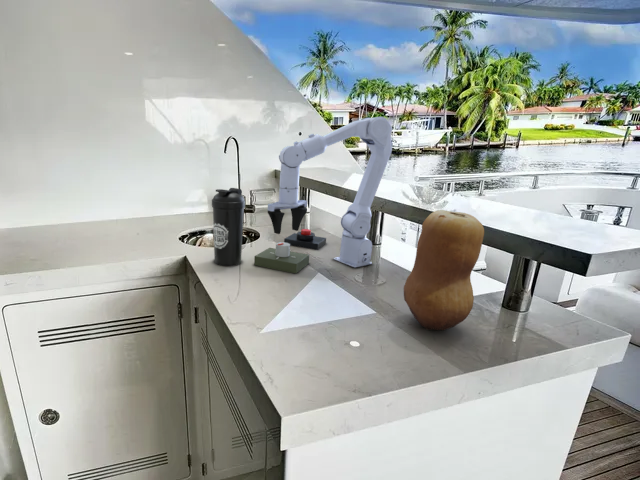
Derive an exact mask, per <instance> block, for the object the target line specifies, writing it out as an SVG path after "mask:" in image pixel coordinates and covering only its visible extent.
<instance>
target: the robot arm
mask: <svg viewBox="0 0 640 480" xmlns="http://www.w3.org/2000/svg"><path fill="white" fill-rule="evenodd" d="M392 132H393V127H392V125H391V123H390V122H389V120H388V119H387V118H386V117H385V116H375V117H364V118H362V119H357V120H354V121H351V122H349V123H347V124H345V125H343V126H341V127H339V128H337V129H335V130H333V131H331V132H329V133H327V134H325V135H323V136H322V135H321V134H320V133H316V134H314V133H310V134H309V135H308V137H306V138H304V139H302V140H300V141H294V142H293V145H287V146H285V147H283V148H282V150H281V151H280V153H279V155H278V159H279V162H280V172H279V190H278V201H275V202H272V203H268V204H267V214H268V216H269V218H270V220H271V221H270V222H271V224H272V228H273V233H274V234H277V235H280V234H281V232H282V224H283V223H282V222H283V219H284V216H285V214H286V213H285V212H282V211H281V210H289V209H290V214H291V229H292V231H297V232H299V229H300V226H301V224H302V221H303V218H304V217H305V215H306V214H307V212H308V208H307V207H308V200H305V199H299V187H300V169H301V168H300V167H301V165H302V163H303V162H306V161H308V160H311V159H312V158H315V157H318V156H320V155H323V154H324V153H325V152H326V149H327V148H328V147H330V146H332V145H334V144H337V143H339V142H342V141H344V140H347V139H350V138H352V137H354V138H355V137H356V138H359V139H360V140H361V141H362V142H364V143H365V144H366V146H367V147H368V149H369V151H370V156H369V159H368V161H367V164H366V167H365V169H364V172H363V175H362V178H361V181H360V183H359V186H358V189H357V192H356V194H355V197H354V200H353V202H352V203H351V204H350V205H349V206H348V207H347V210H346V212H345V213H344V214H343V215H342V216H341V217H340V226H341V228H342V229H343V230H342V234H341V242H340V249H339V256H337V257H333V260H334V261H337V262H339V263H342V264H344V265H347V266H350V267H352V268H359V267H360V268H361V267H363V266H364V267H365V266H368V265H372V260H371V259H372V253H373V242H372V240H371V239H368V238H367V235H368V234H369V232H370V231H371V219H372V216H373V214H372V211H371V207H372V205H373V202H374V199H375V196H376V194H377V191H378V189H379V187H380V186H379V185H380V184H381V181H382V178H383V176H384V173H385V170H386V167H387V165H388V163H389V160H390V157H391V155H392V152H393V146H392V145H393V144H392Z"/></svg>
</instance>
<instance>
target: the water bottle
mask: <svg viewBox="0 0 640 480" xmlns="http://www.w3.org/2000/svg"><path fill="white" fill-rule="evenodd" d="M215 192H216V194H215V195H214V196H213V198H212V199H211V206H212V221H213V223H212V225H213V227H212V228H213V229H212V230H213V255H214V259H213V260H214V264H216V265H218V266H223V267H234V266H237V265H238V266H239V265H240V264H241V263H242V252H243V251H242V250H243V231H244V211H245V208H246V199H245V198H244V196H243V195H242V194H243V190H242V189H241V188H237V187H230V188H229V189H220V188H219V189H218V188H217V189H215Z"/></svg>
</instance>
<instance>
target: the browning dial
mask: <svg viewBox="0 0 640 480" xmlns="http://www.w3.org/2000/svg"><path fill="white" fill-rule="evenodd" d="M275 249H276V252H275V255H276V256H278V257H288V256H289V254H290V251H291V245H290V244H289V243H285V242H284V241H281V242H280V241H278V242H276V243H275Z"/></svg>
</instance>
